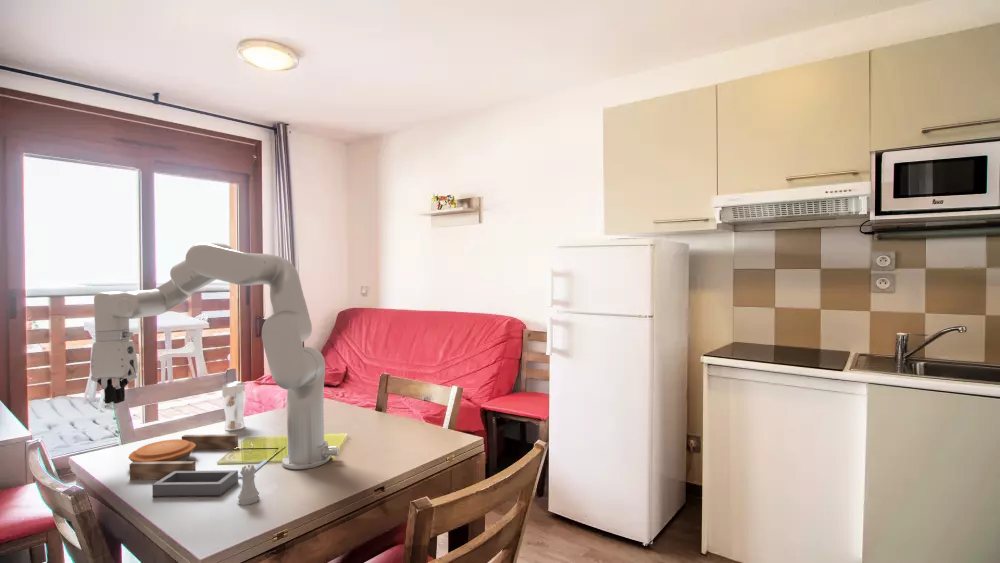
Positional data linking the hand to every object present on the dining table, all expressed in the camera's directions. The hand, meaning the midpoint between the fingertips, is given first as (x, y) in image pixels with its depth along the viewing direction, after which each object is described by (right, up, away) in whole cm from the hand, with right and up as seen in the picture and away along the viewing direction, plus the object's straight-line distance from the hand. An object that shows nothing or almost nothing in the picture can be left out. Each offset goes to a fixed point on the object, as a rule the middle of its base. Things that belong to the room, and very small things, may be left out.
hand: (114, 401), depth 140 cm
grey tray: (+33, -17, -17) cm, 41 cm away
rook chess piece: (+49, -17, -24) cm, 57 cm away
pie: (+13, -17, 0) cm, 22 cm away
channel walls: (+20, -17, 0) cm, 26 cm away
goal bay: (+34, -17, 0) cm, 38 cm away
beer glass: (+17, -16, +30) cm, 39 cm away
